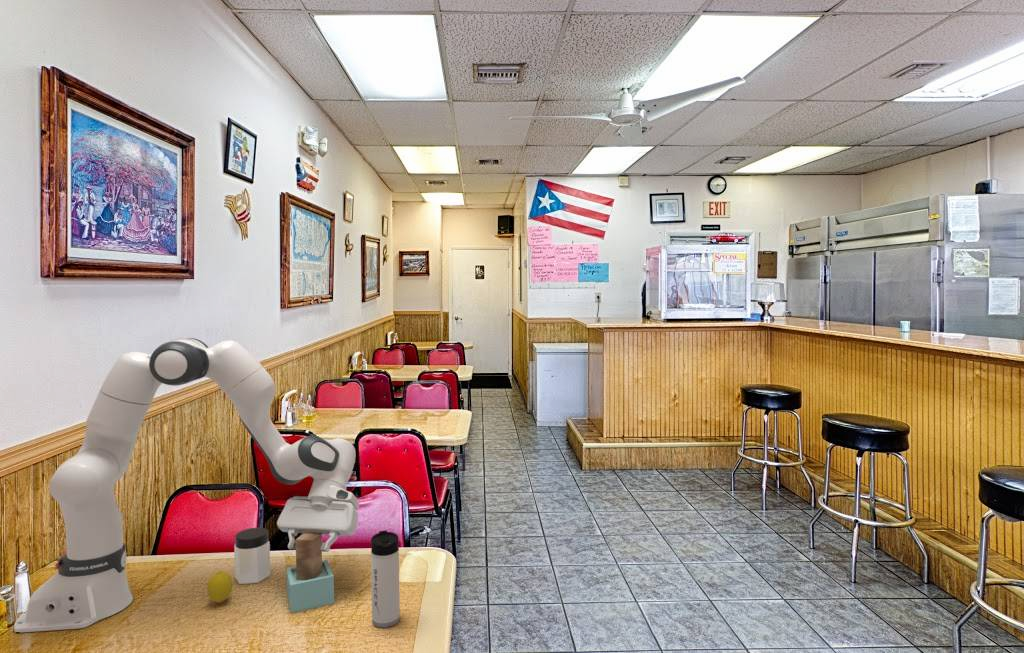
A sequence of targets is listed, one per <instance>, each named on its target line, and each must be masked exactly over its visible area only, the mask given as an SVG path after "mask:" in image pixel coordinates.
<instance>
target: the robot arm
mask: <svg viewBox="0 0 1024 653" xmlns="http://www.w3.org/2000/svg"><path fill="white" fill-rule="evenodd" d="M203 378H208V379H209V380H212V381H213V382H214V383H215V384H216V385H217V386H218V387H219V388H220V390H221V391H222V392H223V393H224V394H225V396H226V397H227V398H228V399H229V400H230V402H231V403H232V404H233V406H234V407H235V410H236V411H237V414H238V417H239V418H240V422H241V423H242V425H243V427H244V428H245V430H246V431H247V432H248V434H249V435H250V437H251V438H252V439H253V441H254V442H255V444H256V445H257V447H258V448H259V450H260V451H261V452H262V454H263V455H264V457H265V459H266V460H267V463H268V466H269V469H270V472H271V474H272V476H273V477H274V479H276V480H277V481H278V482H279V483H281V484H283V485H287V486H290V485H291V486H292V485H296V484H298V483H300V482H301V481H303V480H304V479H306V478H307V477H311V478H313V482H312V485H311V488H310V489H309V490H310V491H309V493H308V496H307V495H306V496H303V495H302V496H301V495H300V496H299V495H293V497H290V498H289V499H287V501H286V502H285V505H284V507H283V509H282V511H281V513H280V515H279V517H278V519H277V521H276V526H277V528H278V529H279V530H280V531H282V532H283V533H287V534H288V539H289V542H288V544H287V548H288V549H289V550H295V551H296V538H295V537H297V536H298V534H303V533H305V532H310V533H322V535H329V538H328V539H327V540H326V541H325V542H323V541H322V546H321V551H322V553H323V552H324V553H328V552H329V551H330V549H331V546H332V545H333V544H334V543H335V542H336V541H337V540H338V538H339V536H343V537H345V536H346V537H352V536H353V534H354V533H355V532H356V529H357V525H358V521H359V512H358V509H359V508H360V502H359V501H358V498H357V497H356V496H355V495H354V493H353V492H351V491H348V490H347V484H348V481H349V480H350V478H351V476H352V473H353V469H354V465H355V461H356V457H357V456H356V455H357V454H356V448H355V446H354V444H353V443H352V442H350V441H348V440H347V439H344V438H341V437H335V438H331V439H328V438H323V437H321V436H318V435H307V436H305V437H303V438H300V439H299V440H297V441H296V442H294V443H292V444H290V443H289V442H286V441H285V440H286V439H284V437H283V436H282V434H281V433H280V432H279V430H278V429H277V427H276V426H275V424H274V423H273V421H272V419H271V415H270V409H271V406H272V404H273V402H274V398H275V396H276V383H275V382H274V380H273V378H272V376H271V374H270V373H269V372H268V371H267V370H266V368H265V367H264V366H263V365H262V364H261V362H260V361H259V360H258V359H257V358H256V357H255V356H254V355H253V354H252V353H251V352H250V351H249V350H248V349H247V348H245V346H243V345H242V344H240V342H238V341H235V340H233V339H232V340H231V339H229V340H223V341H220V342H218V343H216V344H214V345H212V346H210V347H209V346H208V345H207V344H206V343H205V342H203V341H201V340H200V339H198V338H194V337H183V338H175V339H171V340H170V341H168V342H164V343H162V344H160V345H159V346H157V348H155V349H154V350H153V352H152V353H151V354H150V353H145V352H142V351H130V352H126V353H123V354H122V355H120V356H119V358H118V359H117V360H116V361H115V363H114V364H113V366H112V367H111V369H110V371H109V372H108V374H107V376H106V377H105V379H104V381H103V383H102V385H101V387H100V389H99V391H98V394H97V395H96V398H95V401H94V402H93V405H92V407H91V409H90V412H89V414H88V416H87V418H86V422H85V423H86V429H85V434H84V438H83V441H82V444H81V446H80V448H79V449H78V451H77V452H76V454H75V455H72V457H70V458H68V459H66V460H65V461H64V462H62V463H61V464H60V465H59V466H58V468H57V469H56V470H55V472H54V473H53V475H51V476H52V477H51V478H50V482H49V486H48V488H49V492H50V493H49V494H51V497H52V498H53V499H54V500H55V501H56V502H57V503H58V505H59V508H60V511H61V515H62V517H63V518H62V519H63V521H64V527H65V541H66V544H65V545H66V550H65V551H64V552H62V554H61V557H60V558H58V559H57V561H56V563H55V564H54V570H57V572H55V573H54V574H53V575H52V576H51V577H49V578H48V579H47V580H46V581H44V582H43V583H42V584H41V585H40V586H39V587H38V588H36V590H35V591H34V592H32V594H31V595H30V598H29V600H28V603H27V608H26V610H27V612H26V613H24V614H22V613H21V614H22V615H21V614H20V615H19V616H18V617H17V619H16V620H15V622H14V626H13V631H14V632H15V633H16V632H20V633H31V632H47V631H49V632H50V631H60V630H61V631H62V630H75V629H76V630H77V629H84V628H85V629H86V628H88V627H89V626H91V625H93V624H95V623H97V622H98V621H100V620H103V619H105V618H108V617H110V616H114V615H115V614H117V613H119V612H121V611H123V610H124V609H126V608H127V607H128V606H130V604H132V602H133V600H134V596H133V595H132V592H131V590H130V586H129V582H128V579H127V572H126V566H127V551H126V544H125V543H124V533H123V532H124V530H123V529H124V528H123V513H122V511H121V510H120V509H119V507H118V504H117V501H116V496H115V491H114V490H115V485H116V483H118V482H119V481H120V480H121V479H122V478H123V477H124V475H125V474H126V472H127V469H128V468H129V465H130V462H131V459H132V456H133V452H134V449H135V445H136V442H137V438H138V435H139V432H140V430H141V427H142V424H143V422H144V420H145V418H146V416H147V413H148V411H149V409H150V407H151V404H152V402H153V399H154V397H155V395H156V393H157V390H158V388H160V386H161V385H162V384H164V385H167V386H183V385H185V384H188V383H192V382H194V381H197V380H200V379H203Z"/></svg>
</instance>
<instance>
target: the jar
mask: <svg viewBox="0 0 1024 653" xmlns="http://www.w3.org/2000/svg"><path fill="white" fill-rule="evenodd" d="M269 535H270V534H269V531H268V529H267V528H265V527H251V528H246V529H243V530H241V531H239V532H237V533H236V534H235V536H234V544H233V546H234V547H233V549H234V551H233V552H234V577H235V580H236V581H237V583H238V584H239V585H246V584H248V585H249V584H258V583H260V582H262V581H263V580H265V579H266V578H269V577H270V576H271V544H270V540H269Z"/></svg>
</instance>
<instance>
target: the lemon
mask: <svg viewBox="0 0 1024 653" xmlns="http://www.w3.org/2000/svg"><path fill="white" fill-rule="evenodd" d="M206 591H207V596H208V598H209V599H210V600H211V601H213V602H215V603H218V604H222V603H223V602H224V601H226V600H227V599H228V598H229V597H230V595H231V594H232V591H233V579H232V577H231V575H230V574H229V573H228V572H226V571H223V570H218V571H217V572H214V573H213V574H212V575H211V576H210V578H209V580H208V581H207V588H206Z"/></svg>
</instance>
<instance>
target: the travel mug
mask: <svg viewBox="0 0 1024 653" xmlns="http://www.w3.org/2000/svg"><path fill="white" fill-rule="evenodd" d="M370 544H371V545H370V547H371V548H370V549H371V550H370V556H371V557H370V563H371V565H370V566H371V567H370V568H371V569H370V570H371V575H370V576H371V618H372V620H371V622H372V625H373V626H375V627H378V628H381V629H382V628H384V629H385V628H390V627H392V626H394V625H396V624H397V623H399V621H400V617H401V616H400V615H401V614H400V613H401V612H400V606H401V605H400V604H401V602H400V549H399V535H398V534H396V533H395V532H392V531H387V530H379V531H378V533H376V534H374V535H373V536H372V537H371V539H370Z"/></svg>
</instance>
